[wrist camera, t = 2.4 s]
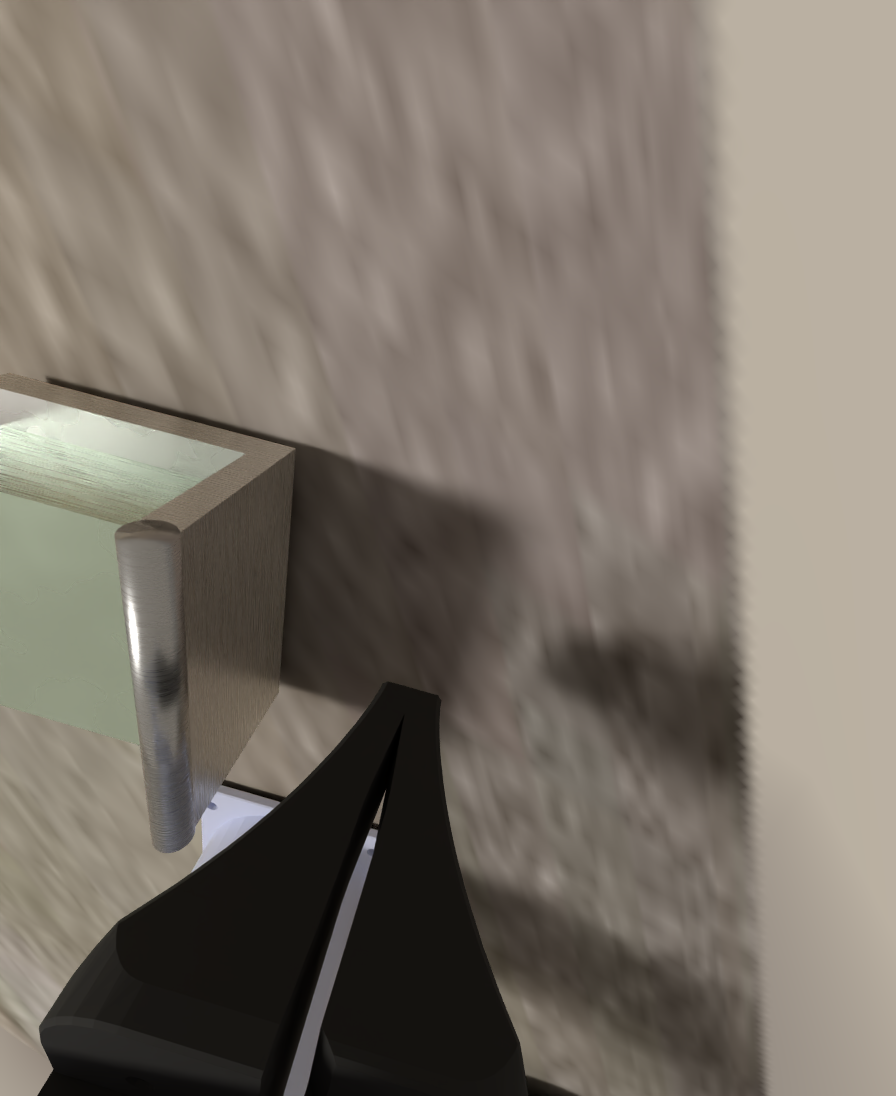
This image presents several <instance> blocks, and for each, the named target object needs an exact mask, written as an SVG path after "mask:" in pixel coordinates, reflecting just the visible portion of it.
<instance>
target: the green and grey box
mask: <svg viewBox="0 0 896 1096" xmlns="http://www.w3.org/2000/svg"><path fill="white" fill-rule="evenodd" d="M295 451H296V448H292V447H289V446H285V445H281V444H277V443H273V442H270V441H266V440H262V439H258V438H254V437H251V436H247V435H243V434H239V433H235V432H232V431H228V430H224V429H220V428H217V427H213V426H209V425H205V424H201V423H198V422H194V421H190V420H186V419H182V418H179V417H175V416H171V415H167V414H163V413H160V412H156V411H152V410H148V409H144V408H141V407H137V406H133V405H129V404H125V403H122V402H118V401H114V400H110V399H107V398H103V397H99V396H95V395H91V394H88V393H84V392H80V391H76V390H72V389H69V388H65V387H61V386H57V385H53V384H50V383H46V382H42V381H38V380H34V379H31V378H27V377H23V376H19V375H15V374H12V373H8V374H3V375H0V705H2V706H5V707H9V708H12V709H16V710H19V711H22V712H26V713H29V714H33V715H36V716H40V717H43V718H47V719H50V720H54V721H57V722H61V723H64V724H68V725H71V726H74V727H78V728H81V729H85V730H88V731H92V732H95V733H99V734H102V735H106V736H109V737H113V738H116V739H120V740H123V741H126V742H130V743H133V744H137V745H140V750H141V758H142V766H143V775H144V783H145V791H146V799H147V807H148V816H149V824H150V832H151V840H152V845H153V846H154V848H155V849H156V850H158V851H160V852H163V853H172V852H176V851H178V850H180V849H182V848H184V847H185V846H186V845H187V844H188V843H189V842H190V841H191V840H192V838H193V836H194V833H195V826H196V825H197V823H198V821H199V820H200V818H201V817H202V815H203V813H204V812H205V810H206V809H207V807H208V805H209V804H210V802H211V801H212V799H213V797H214V796H215V794H216V793H217V791H218V789H219V788H220V786H221V784H222V783H223V781H224V780H225V778H226V776H227V775H228V773H229V772H230V770H231V768H232V767H233V765H234V764H235V762H236V760H237V759H238V757H239V756H240V754H241V752H242V751H243V749H244V748H245V746H246V744H247V743H248V741H249V739H250V738H251V736H252V735H253V733H254V731H255V730H256V728H257V727H258V725H259V723H260V722H261V720H262V719H263V717H264V715H265V714H266V712H267V711H268V709H269V707H270V706H271V704H272V702H273V701H274V699H275V698H276V696H277V694H278V693H279V681H280V667H281V652H282V638H283V623H284V609H285V595H286V580H287V566H288V552H289V537H290V523H291V508H292V494H293V480H294V465H295Z"/></svg>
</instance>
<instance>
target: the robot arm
mask: <svg viewBox="0 0 896 1096" xmlns="http://www.w3.org/2000/svg"><path fill="white" fill-rule="evenodd" d="M440 705H441V699H440V698H439V696H438V695H434V694H431V693H427V692H424V691H420V690H417V689H413V688H409V687H406V686H402V685H399V684H395V683H392V682H386V683H383V684H382V686H381V688H380V690H379V691H378V693H377V695H376V696H375V698H374V699H373V701H372V702H371V704H370V705H369V707H368V708H367V709H366V711H365V712H364V713H363V715H362V716H361V717H360V719H359V720H358V721H357V722H356V724H355V725H354V726H353V727H352V729H351V730H350V731H349V732H348V733H347V734H346V736H345V737H344V738H343V739H342V740H341V742H340V743H339V744H338V745H337V746H336V747H335V749H334V750H333V751H332V752H331V753H330V754H329V755H328V756H327V757H326V758H325V759H324V760H323V761H322V762H321V763H320V764H319V766H318V767H317V768H316V769H315V770H314V771H313V772H312V773H311V774H310V775H309V776H308V777H307V778H306V779H305V780H304V781H303V782H302V783H301V784H300V785H299V786H298V787H297V788H296V789H295V790H294V791H292V792H291V793H290V794H289V795H288V796H287V797H286V798H285V799H284V800H283V801H282V802H279V801H275V800H272V799H268V798H265V797H261V796H258V795H254V794H251V793H248V792H244V791H241V790H237V789H234V788H230V787H227V786H223V785H221V786H220V788H219V789H218V791H217V793H216V794H215V796H214V797H213V799H212V801H211V802H210V804H209V805H208V807H207V809H206V810H205V812H204V813H203V815H202V817H201V818H202V844H203V853H202V854H201V856H200V858H199V860H198V861H197V863H196V865H195V867H194V868H193V870H192V872H191V873H190V874H189V875H188V876H186V877H185V878H184V879H182V880H181V881H179V882H178V883H176V884H175V885H173V886H172V887H170V888H169V889H167V890H166V891H164V892H163V893H161V894H159V895H158V896H156V897H155V898H153V899H152V900H150V901H149V902H147V903H146V904H144V905H142V906H141V907H139V908H138V909H136V910H135V911H133V912H132V913H130V914H129V915H127V916H125V917H124V918H122V919H121V920H120V921H118V922H117V923H116V924H115V925H114V927H113V928H112V929H111V930H110V931H109V932H108V933H107V934H106V935H105V936H104V938H103V939H102V940H101V941H100V942H99V943H98V944H97V945H96V947H95V948H94V949H93V950H92V951H91V953H90V954H89V955H88V956H87V958H86V959H85V960H84V961H83V963H82V964H81V965H80V967H79V968H78V969H77V970H76V972H75V973H74V974H73V976H72V977H71V979H70V980H69V981H68V983H67V985H66V986H65V988H64V989H63V991H62V992H61V994H60V995H59V997H58V998H57V1000H56V1001H55V1003H54V1005H53V1006H52V1008H51V1009H50V1011H49V1012H48V1014H47V1015H46V1017H45V1018H44V1020H43V1021H42V1023H41V1024H40V1026H39V1031H40V1039H41V1044H42V1046H43V1048H44V1050H45V1052H46V1054H47V1056H48V1058H49V1060H50V1063H51V1064H52V1067H53V1071H52V1073H51V1074H50V1076H49V1078H48V1080H47V1081H46V1083H45V1084H44V1086H43V1087H42V1089H41V1091H40V1092H39V1094H38V1096H528V1091H527V1084H526V1076H525V1070H524V1064H523V1058H522V1052H521V1046H520V1042H519V1039H518V1036H517V1034H516V1031H515V1029H514V1027H513V1024H512V1022H511V1019H510V1017H509V1014H508V1012H507V1010H506V1007H505V1004H504V1002H503V999H502V997H501V994H500V992H499V989H498V986H497V984H496V981H495V978H494V976H493V973H492V970H491V967H490V965H489V962H488V959H487V956H486V953H485V951H484V948H483V945H482V942H481V938H480V935H479V932H478V929H477V926H476V923H475V919H474V916H473V913H472V910H471V907H470V903H469V900H468V897H467V894H466V890H465V886H464V882H463V879H462V875H461V871H460V867H459V863H458V859H457V855H456V851H455V846H454V842H453V837H452V832H451V827H450V822H449V816H448V810H447V805H446V798H445V791H444V784H443V775H442V766H441V756H440V737H439V717H440ZM385 790H386V793H385ZM384 793H385V798H384V803H383V808H382V812H381V817H380V822H379V827H378V830H375V829H372V828H371V826H372V823H373V821H374V818H375V816H376V813H377V811H378V808H379V806H380V803H381V800H382V798H383V795H384Z"/></svg>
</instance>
